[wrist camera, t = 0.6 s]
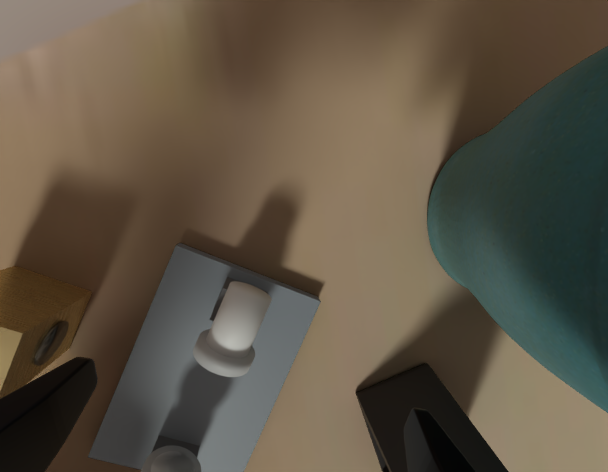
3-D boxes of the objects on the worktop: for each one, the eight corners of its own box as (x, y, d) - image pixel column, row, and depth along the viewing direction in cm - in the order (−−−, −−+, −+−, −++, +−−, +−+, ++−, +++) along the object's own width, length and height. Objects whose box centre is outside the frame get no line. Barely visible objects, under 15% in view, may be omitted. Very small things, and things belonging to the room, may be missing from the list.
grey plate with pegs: (235, 479, 23) (227, 580, 17) (95, 444, 21) (31, 545, 15) (317, 296, 22) (341, 335, 16) (179, 242, 20) (147, 263, 14)
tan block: (94, 292, 20) (26, 334, 14) (72, 348, 20) (-5, 413, 14) (12, 264, 19) (-98, 297, 13) (-10, 323, 19) (-129, 382, 13)
